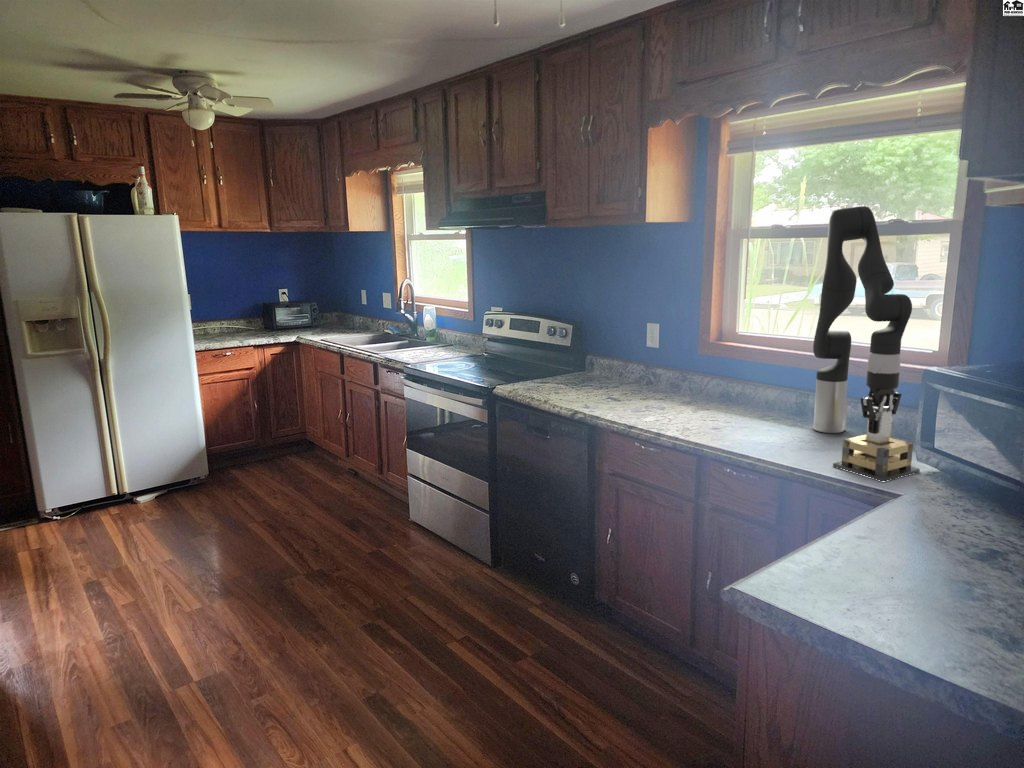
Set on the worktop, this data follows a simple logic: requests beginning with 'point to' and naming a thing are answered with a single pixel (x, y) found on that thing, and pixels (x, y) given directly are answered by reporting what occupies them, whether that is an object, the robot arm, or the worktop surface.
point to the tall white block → (880, 431)
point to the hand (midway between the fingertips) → (878, 431)
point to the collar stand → (877, 458)
